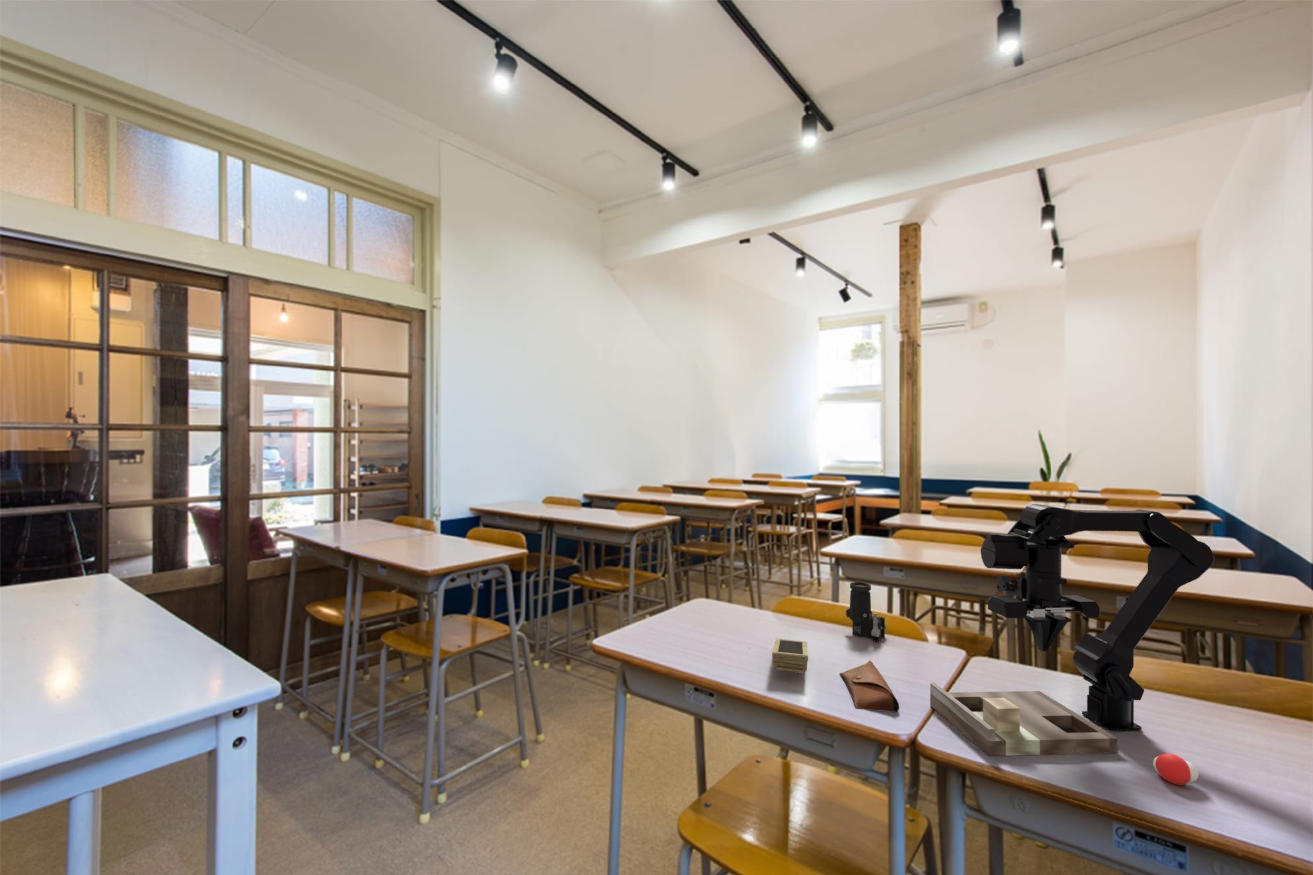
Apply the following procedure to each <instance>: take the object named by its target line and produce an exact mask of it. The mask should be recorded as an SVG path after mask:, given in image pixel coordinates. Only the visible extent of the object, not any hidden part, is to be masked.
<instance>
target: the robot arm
mask: <svg viewBox="0 0 1313 875" xmlns="http://www.w3.org/2000/svg"><path fill="white" fill-rule="evenodd" d="M1080 532H1137V533H1138V535H1139V536H1140V538H1141V541H1143V543H1144V544H1145V545H1147V547H1149V548H1150V551H1149V552H1148V554H1147V572H1146V573H1145V575H1144V576H1143V578H1142V579H1141V580H1140V581H1139V583H1138V585H1137V586H1136V587H1135V589H1134V590H1133V591H1132V593H1131V594H1130V595H1129V597H1128V598H1127V599H1126V601H1125V603H1123V605H1122V607H1120V609H1119V611H1118V612H1117V613H1116V615H1115V616H1114V617H1113V618H1112V620H1111V622H1110V623H1109V624H1108V626H1107V627H1106V629H1105V630H1104V631H1102V632H1101V633H1099V634H1097V635H1094V634H1091V633H1089V632H1086V633H1084V634H1083V636H1082V637H1081V639H1080V642H1078V644H1077V645H1075V646H1074V647H1073V650H1075V651H1074V653H1073V656H1072V660H1073V663H1074V666H1075V667H1076V669H1077V670H1078V671H1079V673H1081V677H1082V678H1083V680H1085V681H1086V682H1088V683H1090V684H1091V685H1088V694H1087V696H1086V710H1083V711H1081V715H1082V716H1084V717H1086V718H1088V719H1090V720H1091V721H1093V722H1094V723H1096V724H1098V725H1100V726H1101V727H1103V728H1104V729H1106V730H1109V731H1113V732H1114V731H1141V730H1143V729H1142V728H1143V727H1142V726H1141V725H1139V724H1137V723H1136V722H1134V721H1135V720H1134V719H1135V716H1134V715H1135V711H1134V708H1135V702H1134V701H1141V700H1142V698H1143V695H1144V693H1145V689H1144V688H1143V687H1142V686H1141V685H1140V684H1139V683H1138V682H1137V681H1136V680H1135V679H1134V678H1133V677H1132V676H1130V675H1131V673H1132V671H1133V668H1134V667H1135V666H1134V665H1135V664H1134V662H1135V661H1134V660H1135V659H1134V658H1135V656H1134V655H1135V654H1134V652H1135V648H1136V647H1137V645H1138V644H1139V643H1140V641H1141V640H1142V639H1143V637H1144V636H1145V635H1146V633H1147V632H1148V631H1149V629H1150V628H1151V626H1152V625H1153V624H1154V622H1155V621H1156V619H1157V618H1158V617H1159V615H1161V612H1162V611H1163V610H1164V609H1165V607H1166V606H1167V605H1168V603H1169V602H1170V600H1171V599H1172V598H1173V596H1174V595H1175V594H1176V592H1177V591H1178V590H1179V588H1181V587H1183V586H1184V585H1188V584H1189V583H1191V582H1194V581H1196V580H1198V579H1199V578H1200V577H1201V576H1203V574H1204V573H1206V572H1207V571H1208V570H1209V569H1210V568H1211V567H1212V565H1213V563H1214V561H1215V556H1214V554H1213V551H1212V548H1211V547H1210V546H1209V545H1208V544H1207V543H1205V542H1203V541H1201V540H1198V539H1197V538H1196V537H1195V536H1194V535H1192V534H1190V532H1187V531H1186V530H1185V529H1183V528H1181V527H1179V526H1178V525H1176V524H1175V523H1174V522H1172V521H1171V520H1169V518H1167V517H1166V516H1165V515H1164V514H1163V513H1161V512H1159V511H1154V510H1147V509H1142V508H1139V509H1134V510H1121V509H1119V510H1116V509H1115V510H1112V509H1111V510H1110V509H1107V510H1104V509H1103V510H1101V509H1100V510H1098V509H1097V510H1094V509H1092V510H1091V509H1090V510H1088V509H1083V510H1082V509H1079V510H1077V509H1069V508H1062V507H1057V506H1051V505H1045V504H1040V503H1039V504H1038V503H1032V504H1031V503H1029V504H1027V505H1026V506H1025V507H1024V508H1023V509H1022V511H1021V512H1020V517H1019V518H1018V520H1017V521H1016V522H1015V523H1014V524H1013V526H1012V527H1011V528H1010V529H1009V531H1008V532H1007V534H1002V533H1001V534H999V533H994V532H987V533H986V538H985V539H984V541H983V542H982V546H981V547H980V558H981V559H982V560H981V561H982V563H983V565H984V567H985V568H987V569H997V570H998V569H999V570H1022V569H1024V567H1025V571H1020V573H1019V578H1018V579H1012V577H1011V576H1010V575H998V576H996V583H995V584H996V588H997V591H998V592H999V593H1005V595H991V596H990V597H989V599H988V601H987V610H988V611H991V612H993V613H995V614H996V615H997V614H998V615H999V616H1002V617H1004V618H1008V619H1024V620H1025V621H1026V622H1027V624H1028V627H1029V628H1030V630H1031V633H1032V635H1033V639H1034V641H1035V644H1036V645H1037V648H1038V650H1039V651H1040V652H1043V653H1044V652H1048V651H1049V649H1050V647H1051V646H1052V644H1053V642H1054V641H1055V640H1056V638H1057V637H1058V635H1059V634H1060V633H1061V631H1062V630H1063V629H1064V628H1065V626H1066V625H1067V624H1068V623H1071V622H1072V618H1071V617H1067V613H1066V612H1080V614H1081V615H1082V616H1083V617H1085V618H1089V619H1090V618H1095V619H1096V618H1101V607H1100V606H1099V604H1098V603H1097V601H1096V600H1091V599H1089V598H1086V597H1083V596H1080V595H1078V594H1073V595H1072V594H1070V595H1069V594H1066V595H1063V594H1062V585H1068V581H1067V579H1068V578H1064V577H1062V549H1071V550H1072V549H1075V545H1074V544H1073V543H1071V542H1070V541H1069V540H1068V539H1067V538H1066V536H1071V535H1074V534H1077V533H1080ZM1015 597H1016V598H1015ZM1020 599H1023V600H1020Z"/></svg>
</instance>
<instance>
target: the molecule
mask: <svg viewBox="0 0 1313 875" xmlns="http://www.w3.org/2000/svg"><path fill="white" fill-rule="evenodd" d="M1152 765H1153V768H1154V770H1155V771H1156V772H1157V773H1158V774H1159V775H1160V776H1161V777H1162V778H1163V779H1164V780H1165V781H1167V782H1169V783H1170V784H1173V785H1179V786H1181V785H1182V786H1183V785H1186V784H1188V783H1193V782H1195V781H1197V780H1198V778H1199V771H1198V770H1197V768H1196V766H1194V764H1192V762H1190V761H1187V760H1185V759H1184V758H1183V757H1180V756H1179V755H1176V754H1174V753H1167V752H1166V753H1162V754H1159V755H1158V756H1156V757H1155V758H1154V759H1153V762H1152Z"/></svg>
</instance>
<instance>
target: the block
mask: <svg viewBox="0 0 1313 875" xmlns="http://www.w3.org/2000/svg"><path fill="white" fill-rule="evenodd" d="M983 721H985V722H986V723H987V724H989V725H990V726H991V727H992V728H994V729H995V730H996V731H998V732H1007V731H1020V708H1019V707H1017V706H1016V705H1014V704H1013V703H1011V702H1010V701H1008V700H1007V699H1005V698H983Z"/></svg>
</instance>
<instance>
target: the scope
mask: <svg viewBox="0 0 1313 875" xmlns="http://www.w3.org/2000/svg"><path fill="white" fill-rule="evenodd" d="M849 587H850V592H849V593H850V594H849V595H850V596H849V608H847V609H846V610H845V616H846V617H847V618H849V619H850V620H851V621H852V622H851V623H852V626H851V627H852V632H851V633H852V636H854V637H858V638H865V639H870V640H871V641H872V642H877V643H881V642H882V639H885V637H886V635H885V632H886V629H887V624H886V620H885V619H886V617H884V616H878V613H877V612H873V611H872V603H871V602H872V600H871V597H872V596H871V592H870V591H871V590H872V585H871V584H870V583H867V582H862V581H861V582H860V581H853V582H850V583H849Z"/></svg>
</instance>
